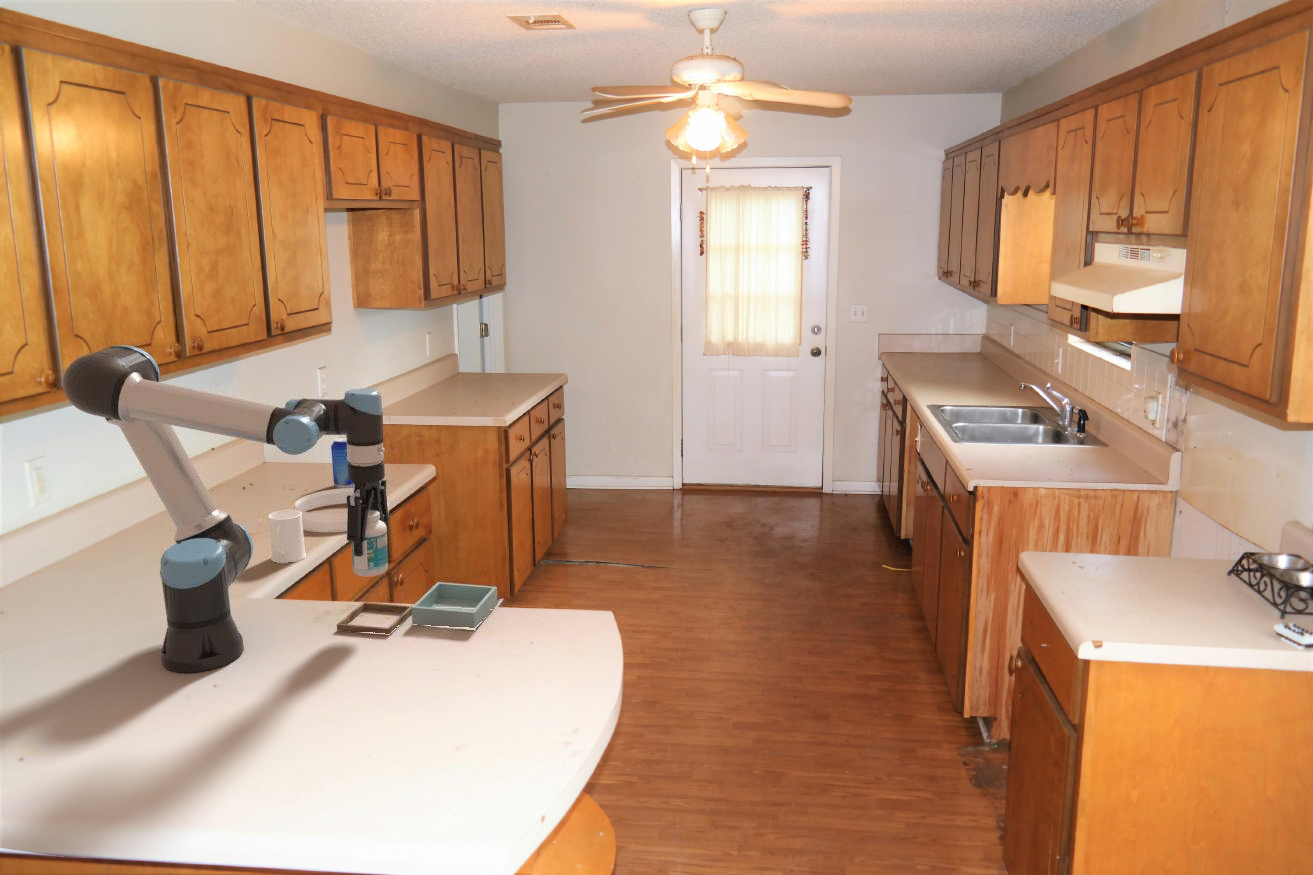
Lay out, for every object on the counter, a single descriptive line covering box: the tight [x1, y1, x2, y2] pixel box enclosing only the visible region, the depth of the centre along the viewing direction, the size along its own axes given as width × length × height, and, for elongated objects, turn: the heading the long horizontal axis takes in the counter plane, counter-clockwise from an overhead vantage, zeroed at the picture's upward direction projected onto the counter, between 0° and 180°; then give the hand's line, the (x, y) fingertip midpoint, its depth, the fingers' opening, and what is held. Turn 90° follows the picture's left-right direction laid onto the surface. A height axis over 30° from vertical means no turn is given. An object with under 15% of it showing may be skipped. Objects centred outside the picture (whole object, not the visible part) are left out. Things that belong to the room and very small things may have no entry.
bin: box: [411, 581, 498, 628], centre depth 210 cm, size 15×15×4 cm
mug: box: [268, 509, 307, 564], centre depth 240 cm, size 12×8×12 cm
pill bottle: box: [351, 510, 389, 577], centre depth 202 cm, size 8×7×14 cm
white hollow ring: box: [292, 488, 390, 533], centre depth 275 cm, size 27×27×6 cm
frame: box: [336, 601, 413, 634], centre depth 206 cm, size 12×12×2 cm
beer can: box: [330, 436, 355, 489], centre depth 305 cm, size 8×8×16 cm
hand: (369, 561), depth 203 cm, fingers closed on pill bottle, 7 cm apart
